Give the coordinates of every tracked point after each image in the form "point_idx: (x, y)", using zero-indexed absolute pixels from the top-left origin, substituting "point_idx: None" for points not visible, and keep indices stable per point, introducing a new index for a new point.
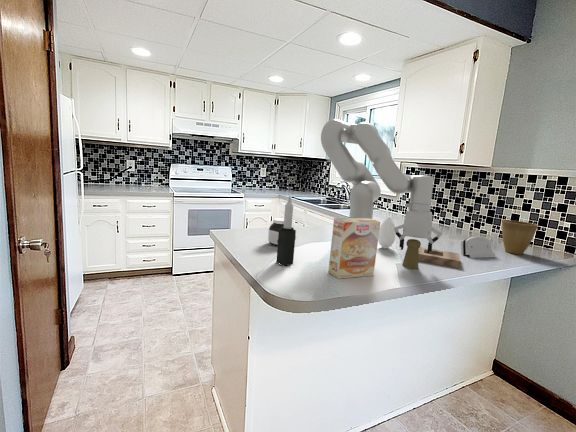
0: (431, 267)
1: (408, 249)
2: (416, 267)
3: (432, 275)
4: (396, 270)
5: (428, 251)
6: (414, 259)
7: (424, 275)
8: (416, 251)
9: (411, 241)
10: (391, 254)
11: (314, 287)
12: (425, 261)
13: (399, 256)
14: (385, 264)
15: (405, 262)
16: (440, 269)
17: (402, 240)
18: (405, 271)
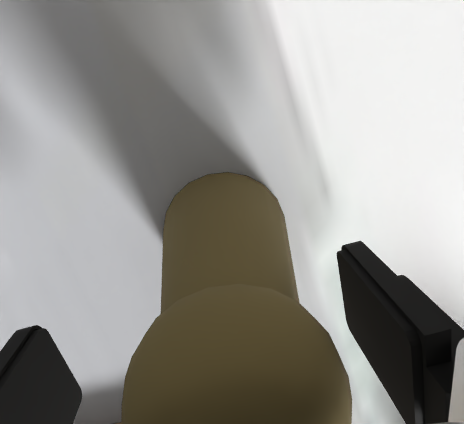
0: (109, 334)
1: (269, 275)
2: (166, 215)
3: (8, 149)
4: (272, 2)
5: (16, 344)
6: (180, 227)
7: (46, 86)
8: (168, 293)
9: (257, 364)
10: None
11: None
12: None
13: (356, 387)
14: (399, 103)
15: (256, 195)
16: None
17: (432, 328)
18: (202, 51)
